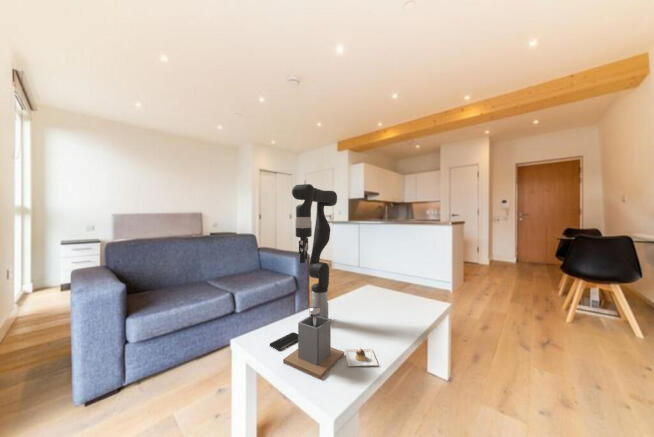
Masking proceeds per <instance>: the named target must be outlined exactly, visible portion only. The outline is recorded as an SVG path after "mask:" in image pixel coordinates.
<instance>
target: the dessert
mask: <svg viewBox="0 0 654 437" xmlns="http://www.w3.org/2000/svg"><path fill="white" fill-rule="evenodd" d="M349 353H356V354H355V356H354V357H355V360H356V361H358V362H361V363H363V362H365V361H366V360H367V356H366V353H369V354H370V357H371V359H372V363H373V364H354V365H353V364H352V365H351V361H350V360H351V359H350V356H349ZM344 354H345V358H346V362H347V366H348V367H378V366H379V363H378V361H377V358H376V356H375V353H374V350H373V349H372V348H347V349H344Z"/></svg>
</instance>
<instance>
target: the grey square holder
mask: <svg viewBox="0 0 654 437" xmlns="http://www.w3.org/2000/svg"><path fill="white" fill-rule="evenodd" d="M331 322H332V321H331V319H329V318H328V319H326V318H323V317H319V316H316V327H313V316H310V315H309V316H307V317H305V318H304V319H302V320H300V321H299V322H298V323H297V327H298V328H297V329H298V330H297V334H298V342H297V349H295V350H294V351H293V352H292V353H290V354H289V355H287V356H286V357H284V358H282V363H283V364H285V365H287V366H289V367H292V369H293V368H294V369H296V370H298V371H300V372H303V373H304V374H307V375H309V376H311V377H314V378H315V379H318V380H321V379H323V377H324V376H325V375H327V373H328V372H329V371H330V370H331V369H332V368H333V367H334V366H336V364H337V363H338V362H340V360H342V359H343V357H344V356H345V351H343V350H340V349H337V348H335V347H332V346H331V338H332V336H331V335H332V334H331V331H332V330H331V328H332V327H331V324H332V323H331Z"/></svg>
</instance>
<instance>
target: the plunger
mask: <svg viewBox="0 0 654 437" xmlns="http://www.w3.org/2000/svg"><path fill="white" fill-rule="evenodd" d="M308 309H309V310H308V313H309V316H313V327H316V316H319V315H320V307H316V306H314V307H309V308H308Z"/></svg>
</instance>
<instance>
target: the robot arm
mask: <svg viewBox="0 0 654 437" xmlns="http://www.w3.org/2000/svg"><path fill="white" fill-rule="evenodd" d="M291 195H292V196H293V198H294V199H295V200H298V201H303V202H302V203H301V204H298V205H297V206H296V207H295V237H296V238H299V239H300V240H298V255H299V263H300V264H305V263H306V260H308V253H309V252H308V251H309V238H312V236H313V243H312V247H311V248H312V249H311V254H310V259H309V264H308V271H307V272H308V275H309V277H310V278H314V279H318V282H317V283H314V284H312V285H311V287H310V288H311V290H310V291H311V298H310V299H311V302H310V303H311V307H314V306H316V307H320V315H319V317H323V318H326V319H329V302H328V300H329V299H328V297H329V293H328V292H329V291H328V289H329V284H330V266H329V264H328V263H327V262H324V261H323V262H322V261H320V258H321V254H322V252H323V250H324V249H325V248H326V246H327V245H328V243H329V241H330V236H331V226H330V223H329V221H328V219H327V218H326V214H325V207H334V206H336V205H337V203H338V195H337V193H336V191H334V190H323V189H319V188H316V187H314V186H313V184H309V183H307V184H303V183H302V184H295V185H294V186H293V187H292V190H291ZM313 202H315V203H316V216H315V217H316V218H315V225H314V232H313V231H312V230H313V228H312V222H313V221H312V207H313V206H312V205H313ZM312 232H313V233H312ZM312 234H313V235H312Z"/></svg>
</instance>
